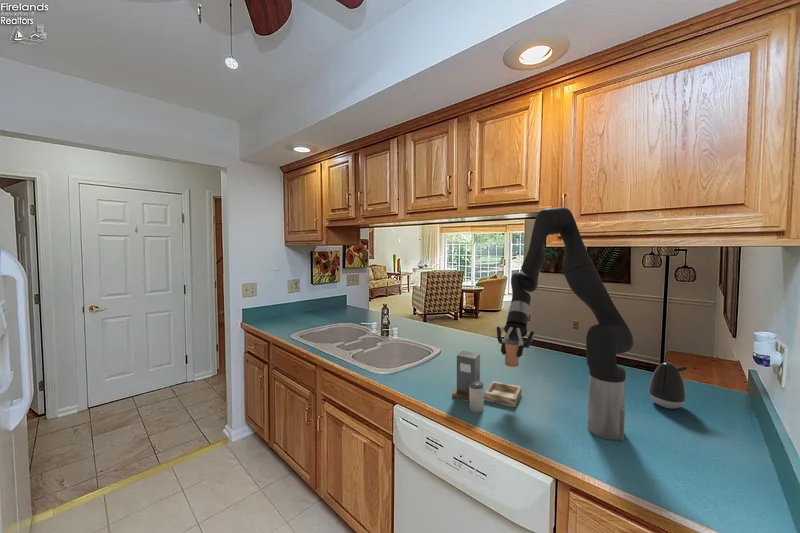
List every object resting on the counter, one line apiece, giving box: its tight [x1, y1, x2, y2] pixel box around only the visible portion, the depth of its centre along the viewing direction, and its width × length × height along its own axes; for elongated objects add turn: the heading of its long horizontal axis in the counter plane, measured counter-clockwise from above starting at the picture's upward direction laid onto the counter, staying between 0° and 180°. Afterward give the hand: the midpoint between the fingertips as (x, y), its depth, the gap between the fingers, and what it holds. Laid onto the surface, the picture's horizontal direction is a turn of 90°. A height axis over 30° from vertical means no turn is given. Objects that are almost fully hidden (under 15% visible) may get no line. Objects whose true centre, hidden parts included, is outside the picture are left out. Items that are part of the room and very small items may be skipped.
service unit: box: [451, 350, 485, 402], centre depth 124 cm, size 9×10×16 cm
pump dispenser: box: [648, 361, 688, 410], centre depth 115 cm, size 10×10×15 cm
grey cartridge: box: [468, 380, 485, 413], centre depth 114 cm, size 5×5×9 cm
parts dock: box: [483, 380, 522, 408], centre depth 122 cm, size 11×11×3 cm
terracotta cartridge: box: [504, 339, 520, 368], centre depth 121 cm, size 5×5×9 cm
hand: (511, 354), depth 119 cm, fingers closed on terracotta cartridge, 4 cm apart
